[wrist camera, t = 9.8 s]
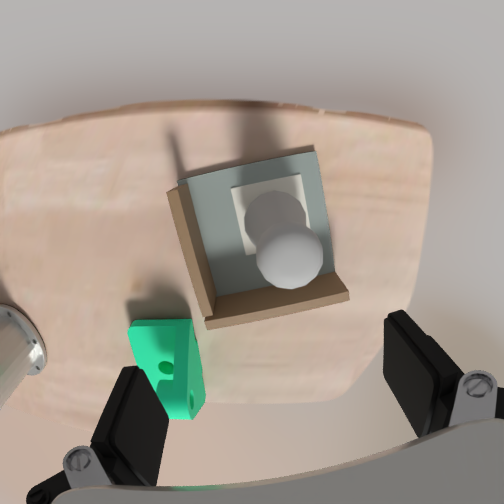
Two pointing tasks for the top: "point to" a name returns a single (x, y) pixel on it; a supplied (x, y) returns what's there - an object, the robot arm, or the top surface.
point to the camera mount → (170, 374)
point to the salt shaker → (283, 240)
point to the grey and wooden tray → (239, 245)
